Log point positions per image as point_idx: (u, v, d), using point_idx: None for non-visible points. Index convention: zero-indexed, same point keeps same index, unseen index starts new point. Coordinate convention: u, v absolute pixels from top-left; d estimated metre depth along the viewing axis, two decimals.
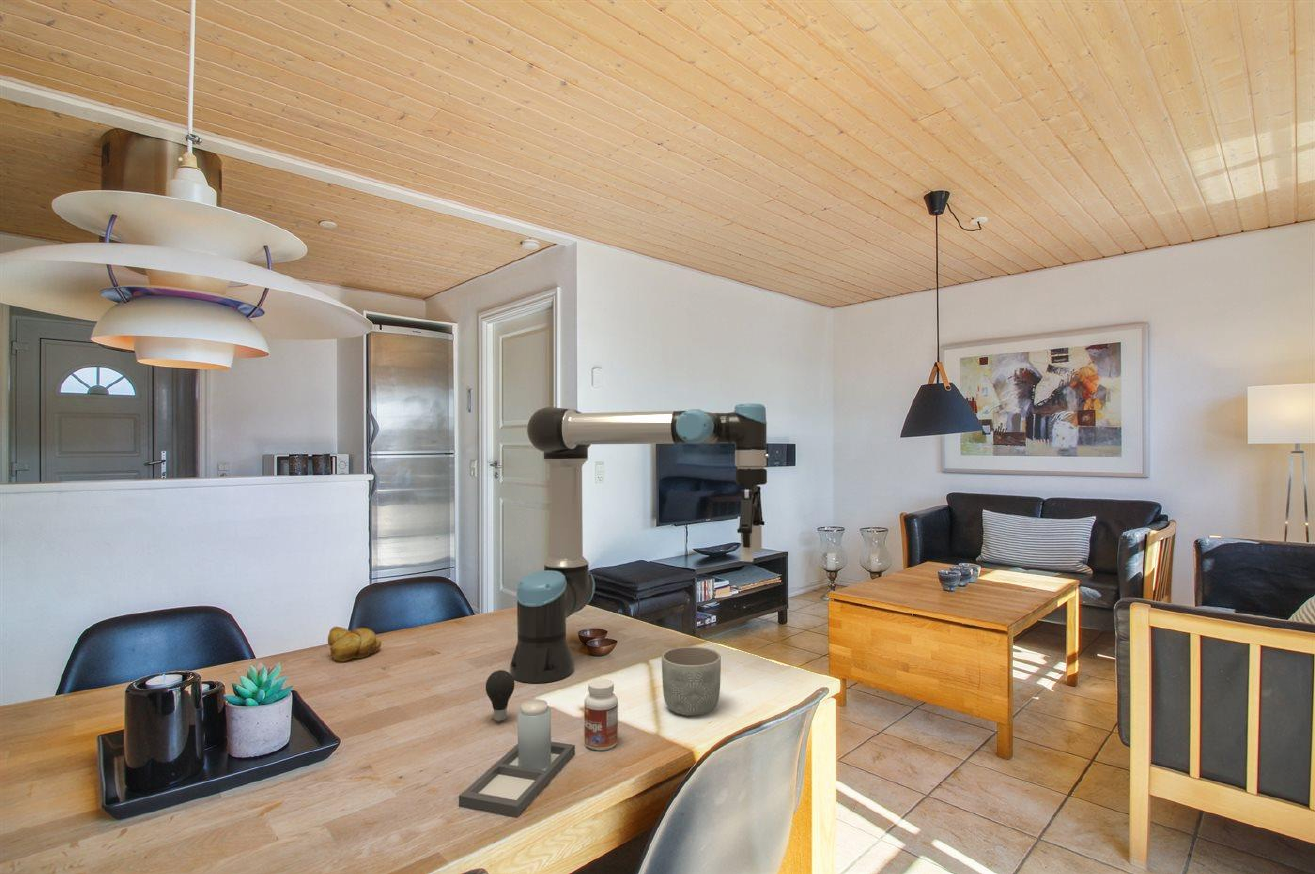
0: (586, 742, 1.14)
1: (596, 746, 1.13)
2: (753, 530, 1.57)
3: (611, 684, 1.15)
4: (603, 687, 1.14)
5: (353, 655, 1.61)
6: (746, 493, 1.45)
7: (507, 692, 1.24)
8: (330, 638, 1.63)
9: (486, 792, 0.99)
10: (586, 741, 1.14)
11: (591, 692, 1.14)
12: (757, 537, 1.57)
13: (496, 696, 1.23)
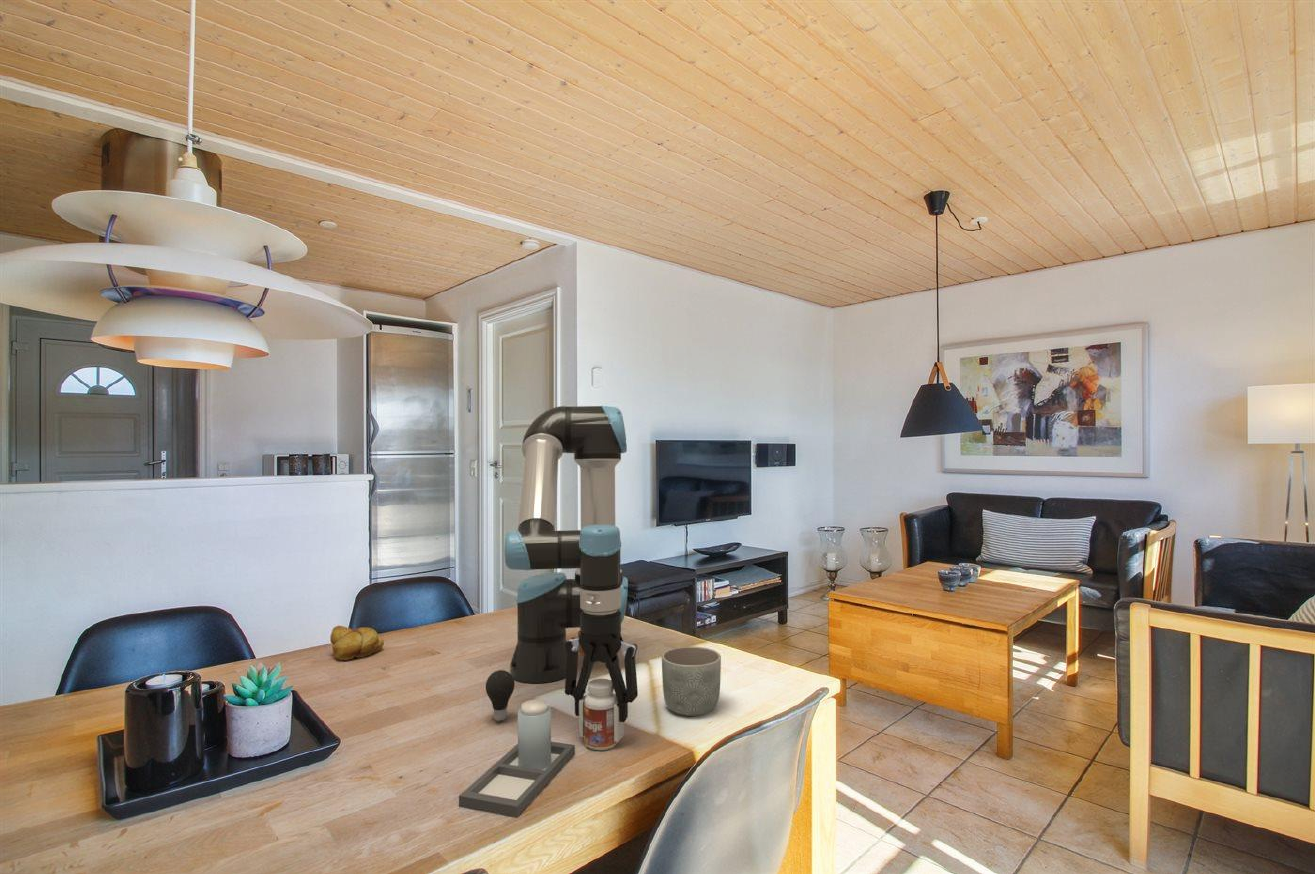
0: (586, 742, 1.14)
1: (596, 746, 1.13)
2: None
3: (611, 684, 1.15)
4: (603, 687, 1.14)
5: (354, 654, 1.62)
6: None
7: (507, 692, 1.24)
8: (332, 637, 1.64)
9: (486, 792, 0.99)
10: (586, 741, 1.14)
11: (591, 692, 1.14)
12: None
13: (496, 696, 1.23)
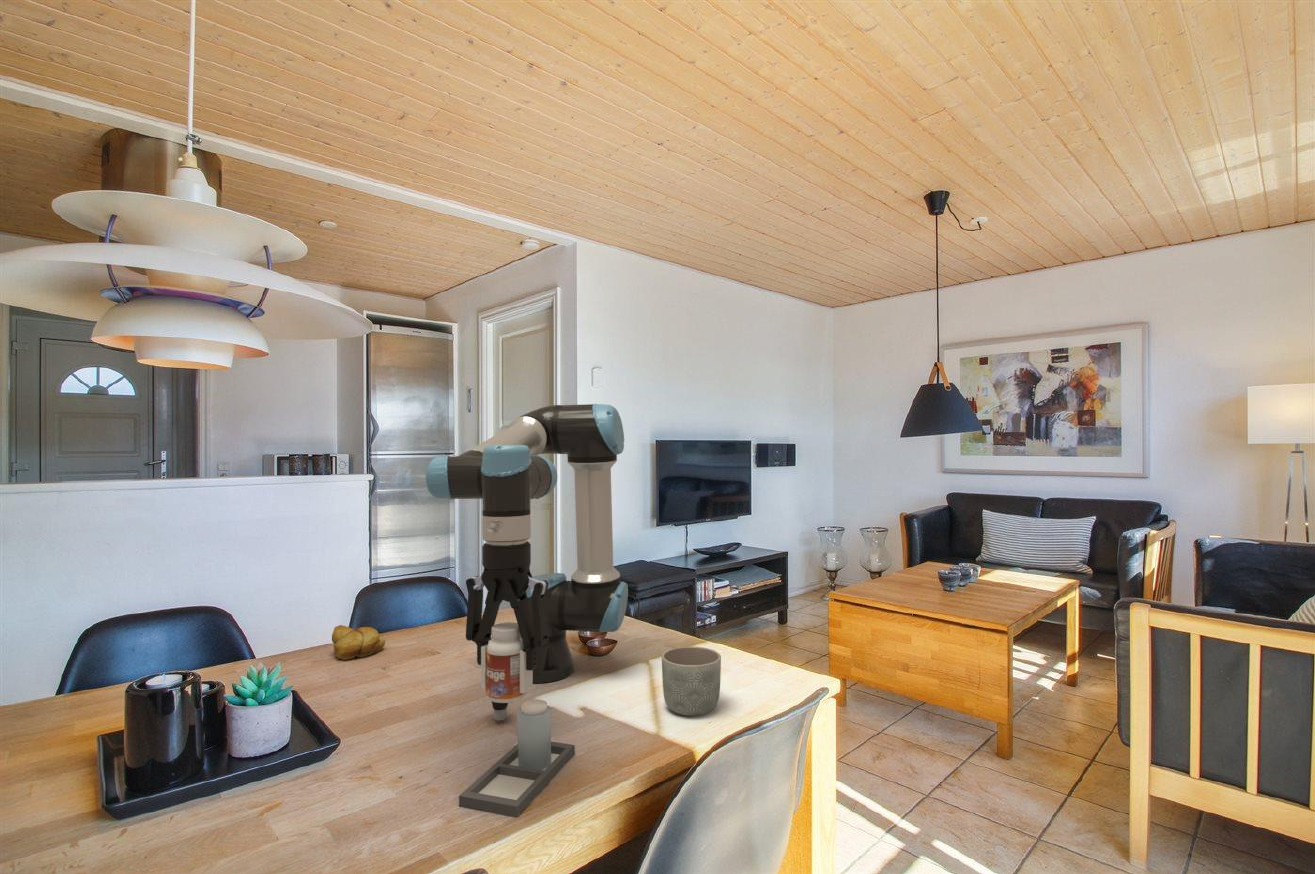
0: (487, 694, 0.98)
1: (498, 698, 0.97)
2: None
3: (518, 627, 0.99)
4: (507, 629, 0.98)
5: (355, 654, 1.62)
6: None
7: None
8: (333, 636, 1.64)
9: (486, 792, 0.99)
10: (488, 692, 0.98)
11: (493, 636, 0.98)
12: None
13: None
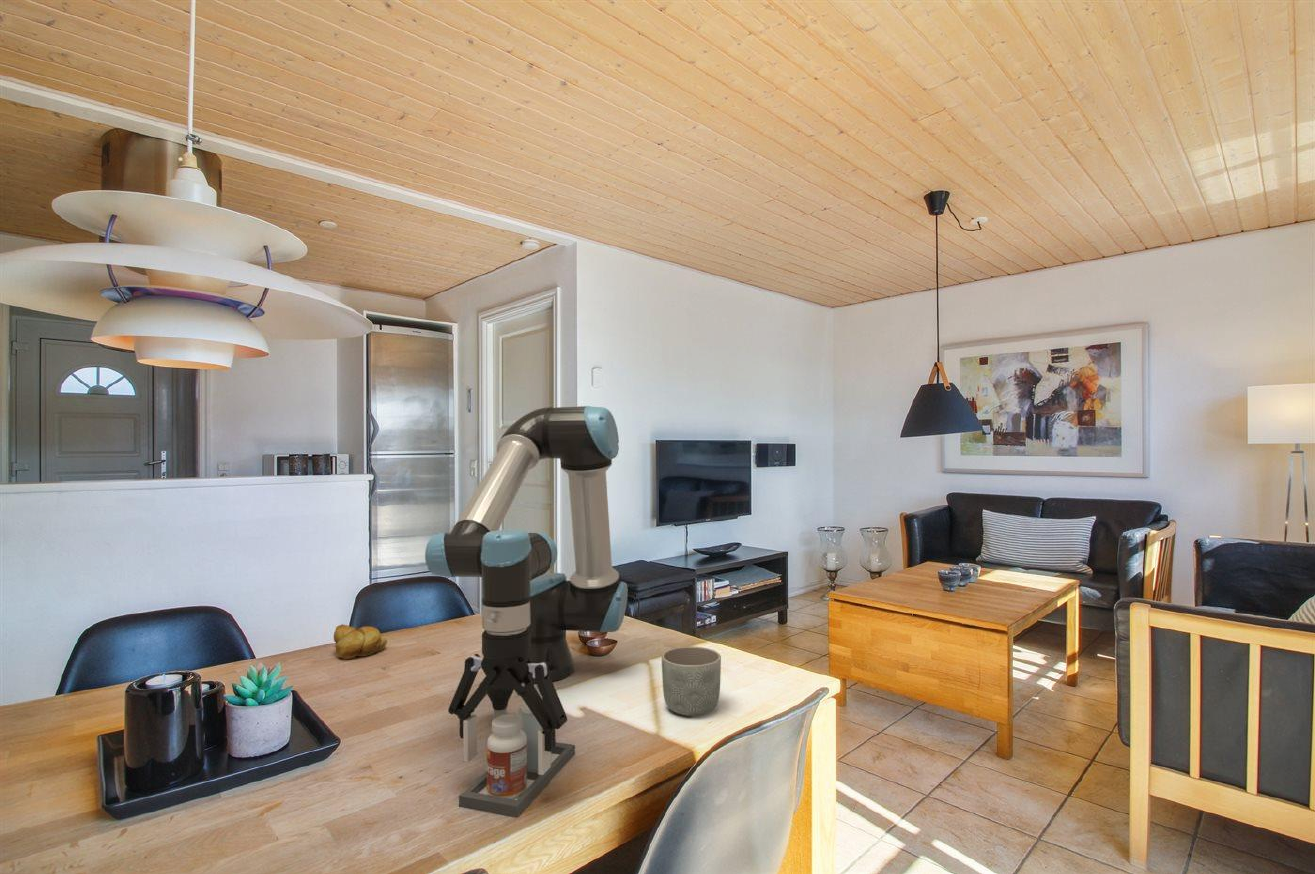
0: (488, 789, 0.98)
1: (498, 795, 0.97)
2: None
3: (518, 721, 0.99)
4: (507, 725, 0.98)
5: (356, 653, 1.63)
6: None
7: (507, 692, 1.24)
8: (335, 635, 1.65)
9: (486, 792, 0.99)
10: (488, 788, 0.98)
11: (494, 731, 0.98)
12: None
13: (496, 696, 1.23)
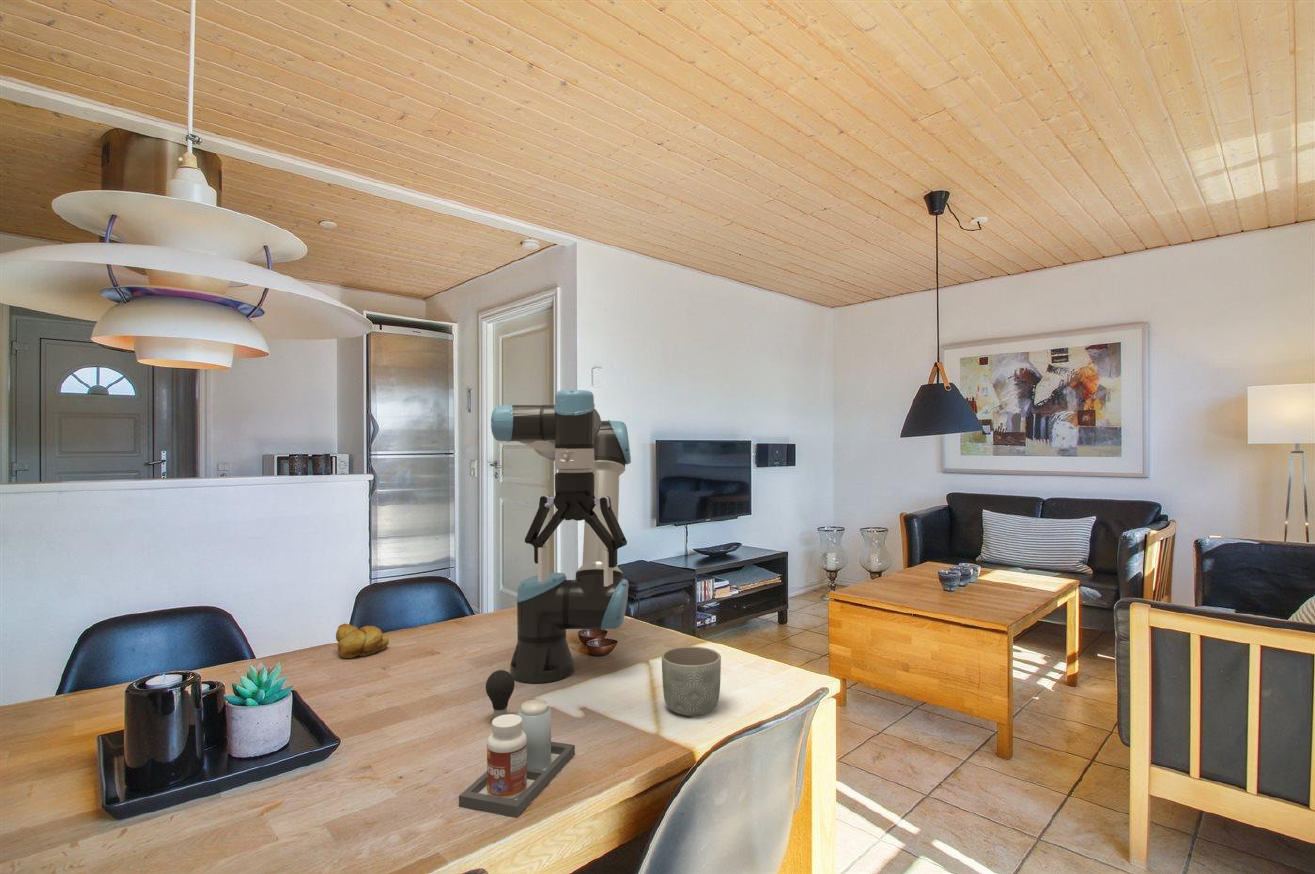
0: (488, 789, 0.98)
1: (498, 795, 0.97)
2: None
3: (518, 721, 0.99)
4: (507, 725, 0.98)
5: (357, 652, 1.63)
6: None
7: (507, 692, 1.24)
8: (337, 635, 1.66)
9: (486, 792, 0.99)
10: (488, 788, 0.98)
11: (494, 731, 0.98)
12: None
13: (496, 696, 1.23)
